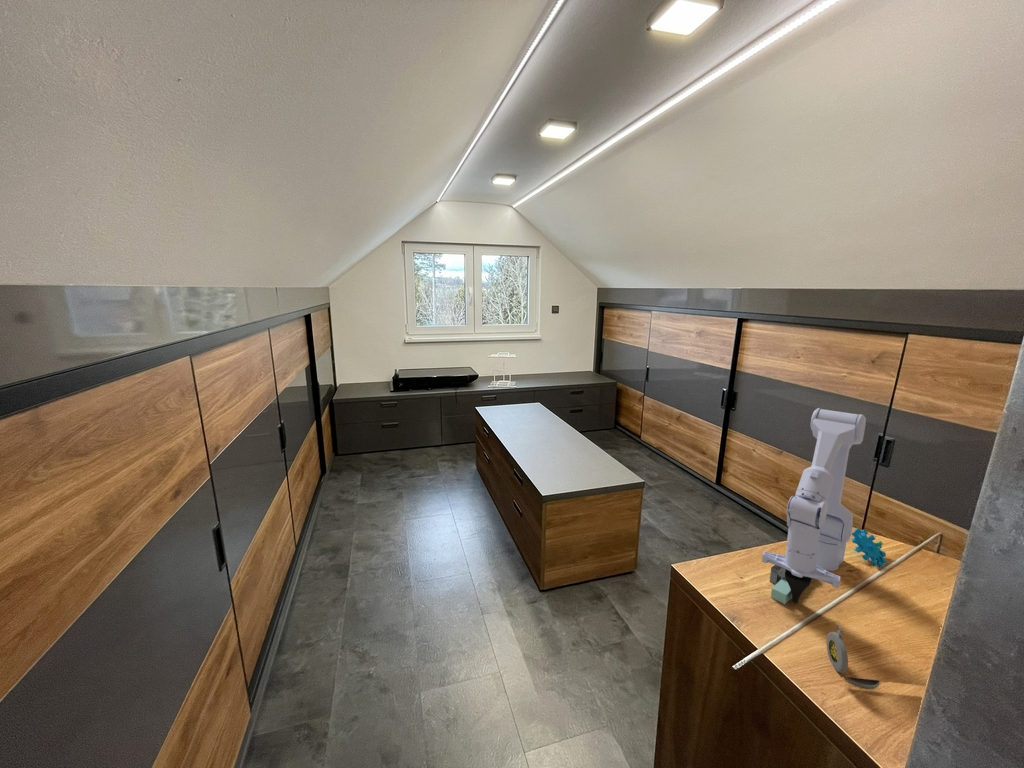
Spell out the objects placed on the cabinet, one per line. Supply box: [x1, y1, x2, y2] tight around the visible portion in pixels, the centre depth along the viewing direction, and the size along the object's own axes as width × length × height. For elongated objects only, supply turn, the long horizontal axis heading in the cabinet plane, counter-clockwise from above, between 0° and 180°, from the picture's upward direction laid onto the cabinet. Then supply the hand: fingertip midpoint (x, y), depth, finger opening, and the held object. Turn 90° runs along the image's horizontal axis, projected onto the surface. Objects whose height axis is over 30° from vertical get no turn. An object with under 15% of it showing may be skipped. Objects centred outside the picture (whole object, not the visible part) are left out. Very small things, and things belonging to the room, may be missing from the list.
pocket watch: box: [826, 622, 881, 690], centre depth 77 cm, size 8×8×10 cm
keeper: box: [769, 564, 786, 586], centre depth 101 cm, size 4×4×5 cm
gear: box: [851, 528, 888, 568], centre depth 112 cm, size 11×6×10 cm
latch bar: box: [770, 578, 814, 605], centre depth 99 cm, size 17×4×4 cm, turn 126°
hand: (795, 600), depth 94 cm, fingers closed
